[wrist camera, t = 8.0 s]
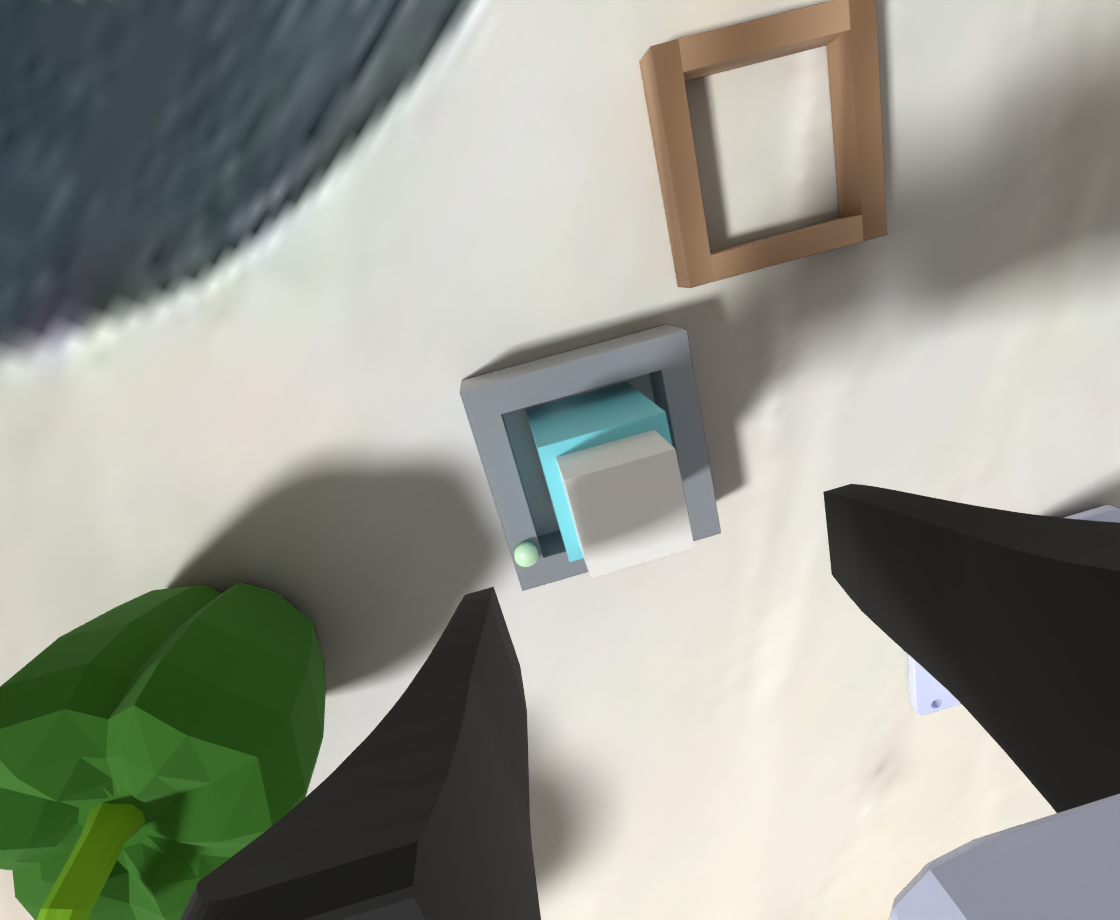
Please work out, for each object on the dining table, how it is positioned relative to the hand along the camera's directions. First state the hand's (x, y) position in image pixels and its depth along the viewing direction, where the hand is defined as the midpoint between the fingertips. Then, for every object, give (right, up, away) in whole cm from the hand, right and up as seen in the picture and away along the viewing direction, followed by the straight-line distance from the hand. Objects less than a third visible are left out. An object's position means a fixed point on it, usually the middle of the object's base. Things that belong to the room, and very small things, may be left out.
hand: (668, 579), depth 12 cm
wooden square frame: (+4, +12, +6) cm, 14 cm away
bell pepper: (-14, -4, +9) cm, 18 cm away
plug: (-1, +3, +8) cm, 9 cm away
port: (-1, +3, +9) cm, 9 cm away
